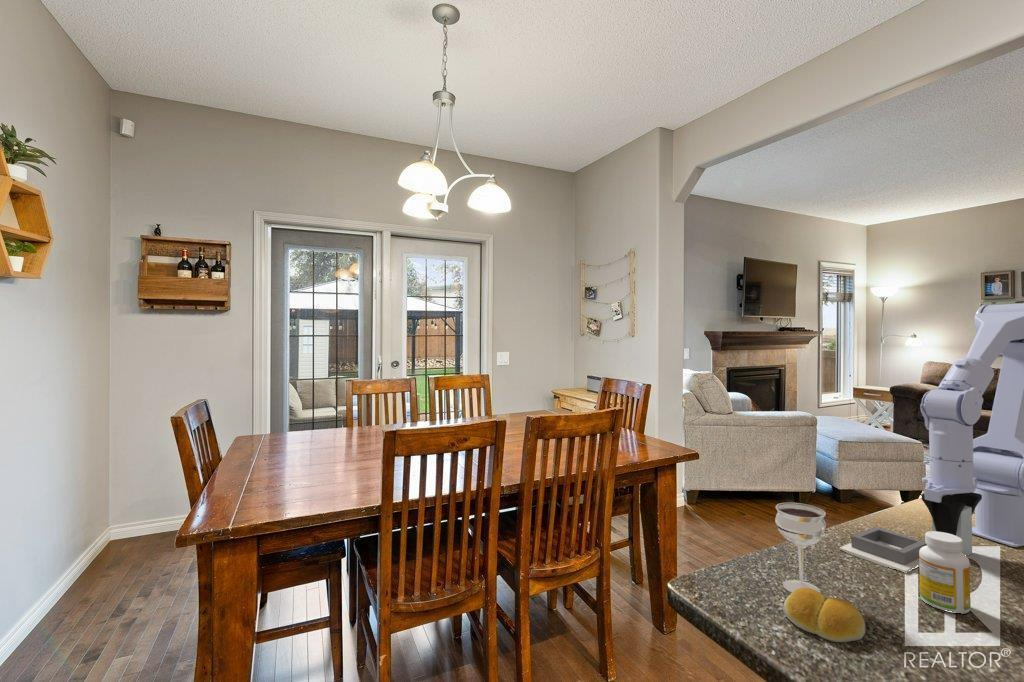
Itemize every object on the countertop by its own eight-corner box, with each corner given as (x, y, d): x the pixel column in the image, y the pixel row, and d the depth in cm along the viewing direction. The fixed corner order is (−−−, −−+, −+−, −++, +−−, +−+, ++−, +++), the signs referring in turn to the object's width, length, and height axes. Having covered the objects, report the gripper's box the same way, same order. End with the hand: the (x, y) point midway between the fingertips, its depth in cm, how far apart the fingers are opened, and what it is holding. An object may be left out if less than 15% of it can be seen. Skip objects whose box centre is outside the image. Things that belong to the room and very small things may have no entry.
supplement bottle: (950, 594, 71) (949, 529, 71) (981, 616, 66) (980, 544, 66) (910, 593, 72) (909, 528, 72) (938, 614, 67) (937, 544, 67)
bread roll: (856, 654, 59) (856, 622, 59) (777, 623, 66) (776, 594, 66) (873, 626, 65) (872, 596, 65) (798, 600, 71) (798, 573, 71)
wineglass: (800, 603, 70) (799, 520, 70) (766, 580, 77) (764, 504, 77) (839, 596, 72) (837, 515, 72) (802, 574, 78) (800, 500, 78)
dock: (875, 536, 92) (874, 522, 92) (940, 556, 83) (940, 542, 83) (839, 550, 87) (839, 536, 87) (905, 573, 78) (905, 558, 78)
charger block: (943, 544, 88) (942, 500, 88) (972, 552, 85) (971, 507, 84) (932, 549, 86) (932, 504, 86) (961, 558, 83) (961, 511, 83)
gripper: (941, 448, 92) (942, 519, 92) (903, 458, 85) (904, 535, 86) (991, 456, 86) (992, 532, 86) (954, 467, 79) (955, 551, 79)
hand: (952, 535), depth 85 cm, fingers closed on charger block, 4 cm apart
